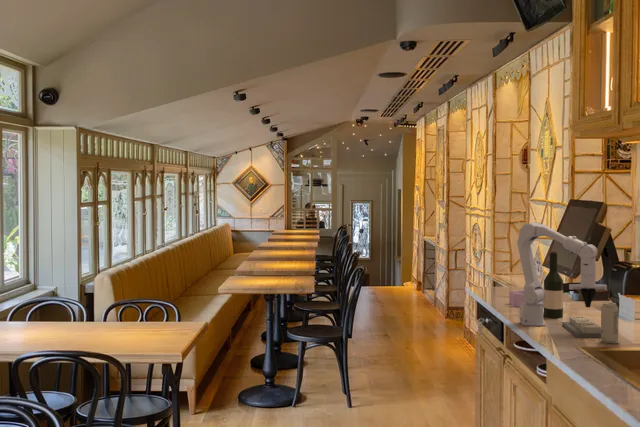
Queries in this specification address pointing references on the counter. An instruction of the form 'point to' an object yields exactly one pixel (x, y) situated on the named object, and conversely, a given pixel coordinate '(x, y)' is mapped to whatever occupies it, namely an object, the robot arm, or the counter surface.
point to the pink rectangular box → (517, 298)
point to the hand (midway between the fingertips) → (587, 307)
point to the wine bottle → (553, 290)
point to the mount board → (582, 328)
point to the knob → (579, 318)
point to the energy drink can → (609, 322)
